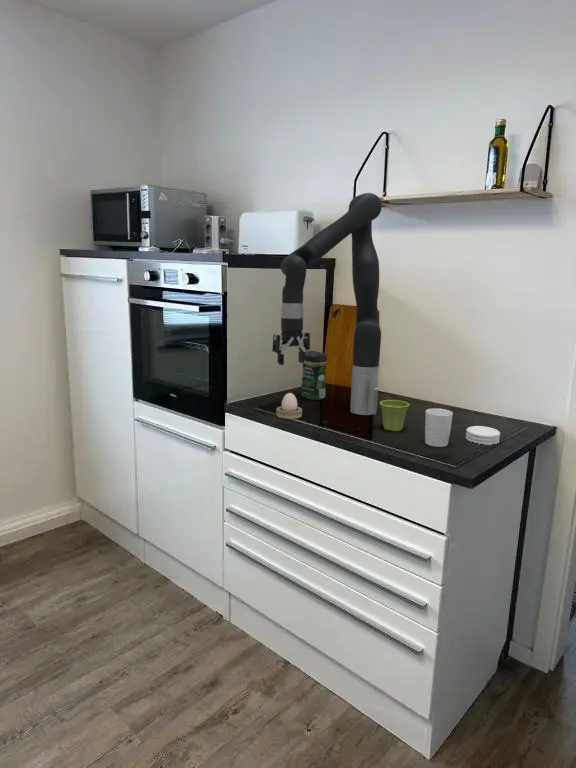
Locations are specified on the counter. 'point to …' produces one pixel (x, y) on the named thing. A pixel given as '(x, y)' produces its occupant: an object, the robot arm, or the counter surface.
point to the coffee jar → (314, 375)
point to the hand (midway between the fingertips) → (291, 363)
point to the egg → (289, 403)
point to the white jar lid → (482, 435)
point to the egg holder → (289, 413)
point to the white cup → (437, 427)
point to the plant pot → (393, 414)
